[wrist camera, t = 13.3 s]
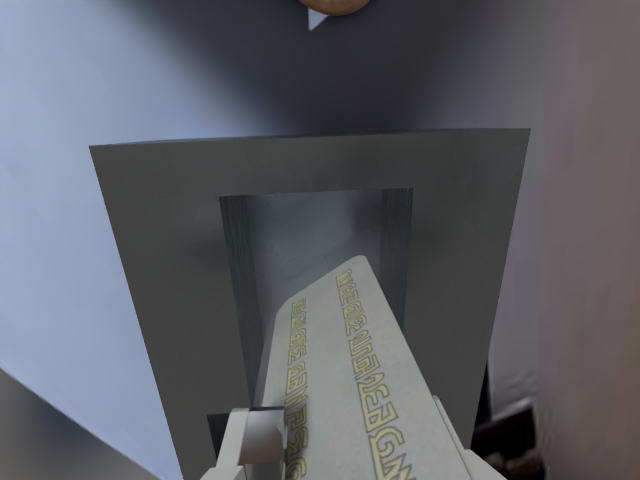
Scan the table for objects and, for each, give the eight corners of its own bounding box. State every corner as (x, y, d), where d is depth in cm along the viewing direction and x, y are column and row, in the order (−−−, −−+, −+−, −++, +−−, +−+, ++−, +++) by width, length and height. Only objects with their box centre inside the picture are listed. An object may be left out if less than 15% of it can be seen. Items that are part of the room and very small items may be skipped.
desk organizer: (455, 128, 17) (530, 128, 11) (419, 454, 26) (451, 545, 20) (162, 139, 16) (88, 145, 11) (229, 468, 25) (208, 565, 20)
